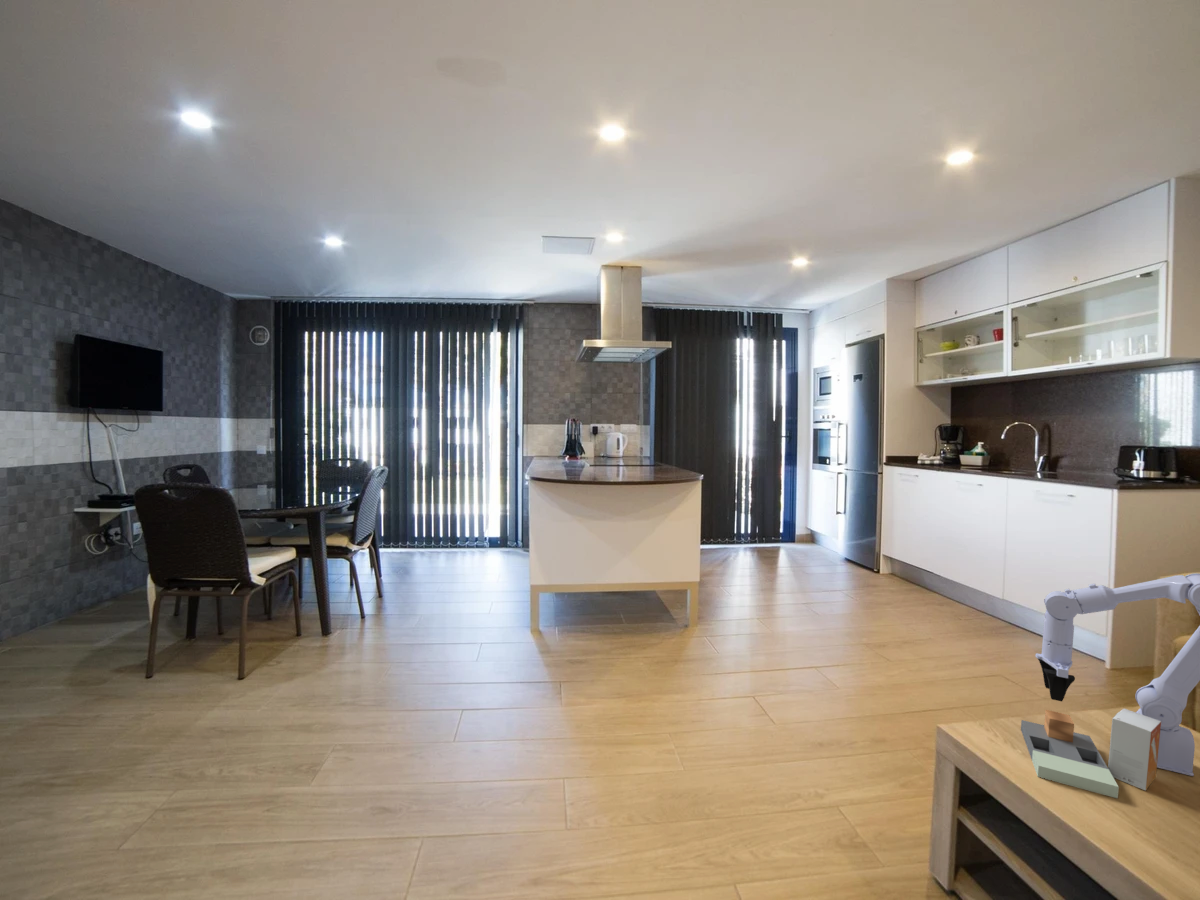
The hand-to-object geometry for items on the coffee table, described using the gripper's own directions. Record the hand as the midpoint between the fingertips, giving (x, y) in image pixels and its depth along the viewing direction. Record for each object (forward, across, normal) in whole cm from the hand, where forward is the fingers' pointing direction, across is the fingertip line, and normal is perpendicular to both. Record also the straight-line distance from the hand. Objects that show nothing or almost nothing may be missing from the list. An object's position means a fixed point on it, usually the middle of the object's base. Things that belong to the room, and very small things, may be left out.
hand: (1053, 694), depth 136 cm
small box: (+10, +14, +12) cm, 20 cm away
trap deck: (+9, +14, 0) cm, 17 cm away
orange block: (+7, +7, 0) cm, 10 cm away
